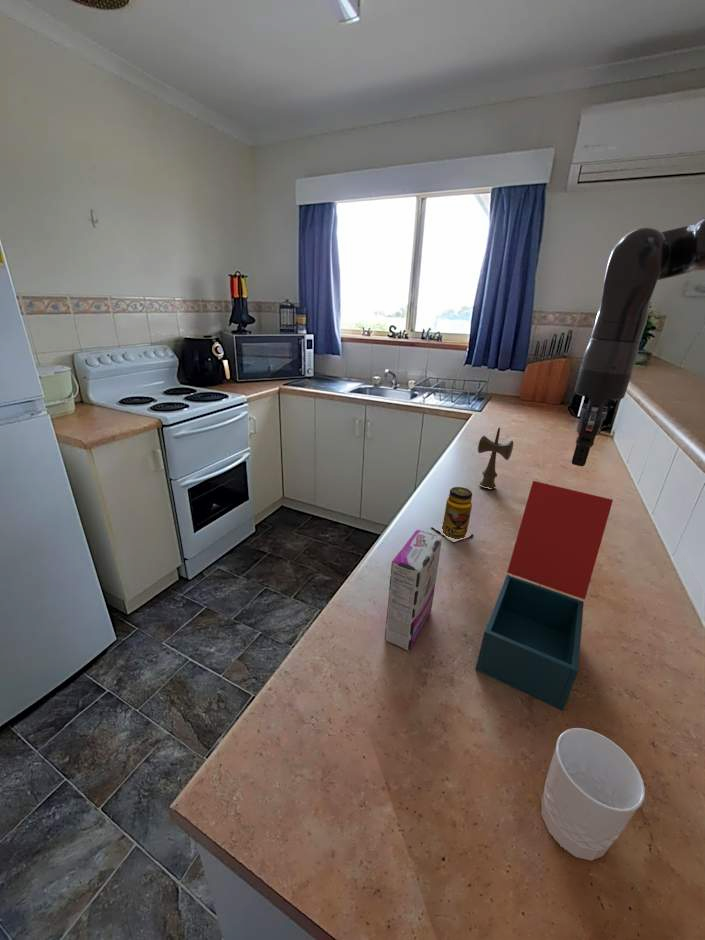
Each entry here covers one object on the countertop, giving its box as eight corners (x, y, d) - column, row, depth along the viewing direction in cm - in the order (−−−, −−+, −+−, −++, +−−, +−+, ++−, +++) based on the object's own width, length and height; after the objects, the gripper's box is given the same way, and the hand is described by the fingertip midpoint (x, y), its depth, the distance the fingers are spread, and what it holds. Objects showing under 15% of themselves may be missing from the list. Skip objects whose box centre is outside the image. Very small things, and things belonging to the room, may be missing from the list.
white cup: (571, 880, 40) (600, 823, 36) (519, 793, 47) (540, 737, 43) (631, 854, 42) (665, 797, 38) (573, 775, 49) (597, 720, 45)
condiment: (453, 543, 95) (461, 499, 91) (429, 527, 102) (436, 485, 97) (474, 536, 99) (483, 493, 94) (450, 520, 106) (457, 480, 101)
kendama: (500, 494, 122) (514, 432, 115) (469, 486, 127) (480, 426, 119) (504, 488, 127) (518, 428, 119) (474, 480, 132) (485, 422, 124)
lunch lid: (613, 499, 66) (612, 499, 67) (532, 480, 72) (533, 481, 73) (584, 599, 66) (584, 598, 67) (507, 572, 72) (507, 572, 73)
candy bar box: (406, 601, 76) (416, 527, 69) (431, 612, 74) (444, 536, 67) (381, 640, 67) (390, 559, 60) (409, 653, 65) (421, 571, 58)
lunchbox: (563, 711, 57) (578, 671, 54) (475, 669, 62) (484, 631, 59) (571, 636, 70) (583, 601, 67) (498, 607, 76) (506, 574, 73)
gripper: (634, 375, 59) (600, 480, 66) (630, 366, 70) (601, 458, 77) (579, 369, 63) (551, 470, 70) (583, 361, 74) (559, 449, 80)
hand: (578, 463), depth 73 cm, fingers closed
